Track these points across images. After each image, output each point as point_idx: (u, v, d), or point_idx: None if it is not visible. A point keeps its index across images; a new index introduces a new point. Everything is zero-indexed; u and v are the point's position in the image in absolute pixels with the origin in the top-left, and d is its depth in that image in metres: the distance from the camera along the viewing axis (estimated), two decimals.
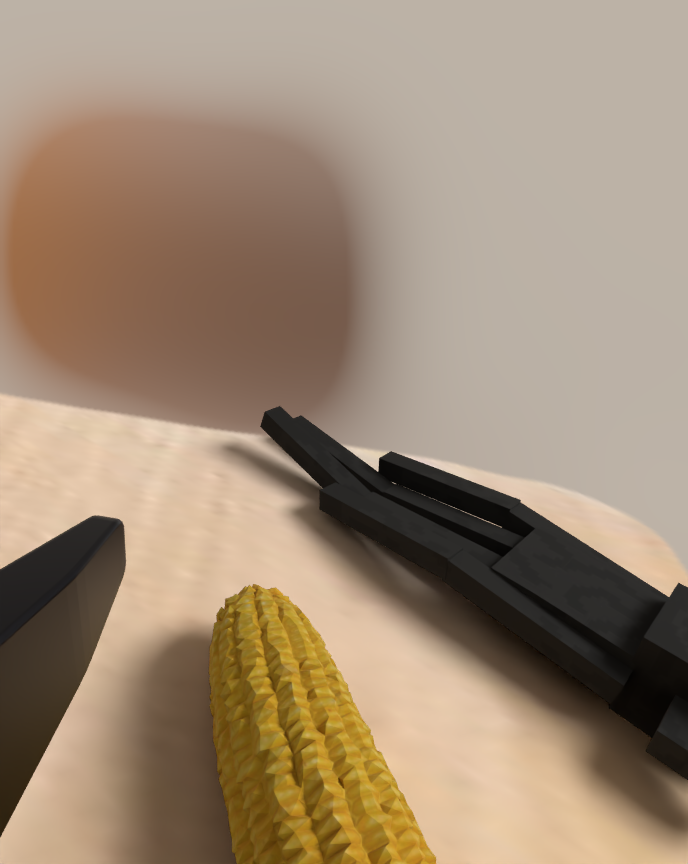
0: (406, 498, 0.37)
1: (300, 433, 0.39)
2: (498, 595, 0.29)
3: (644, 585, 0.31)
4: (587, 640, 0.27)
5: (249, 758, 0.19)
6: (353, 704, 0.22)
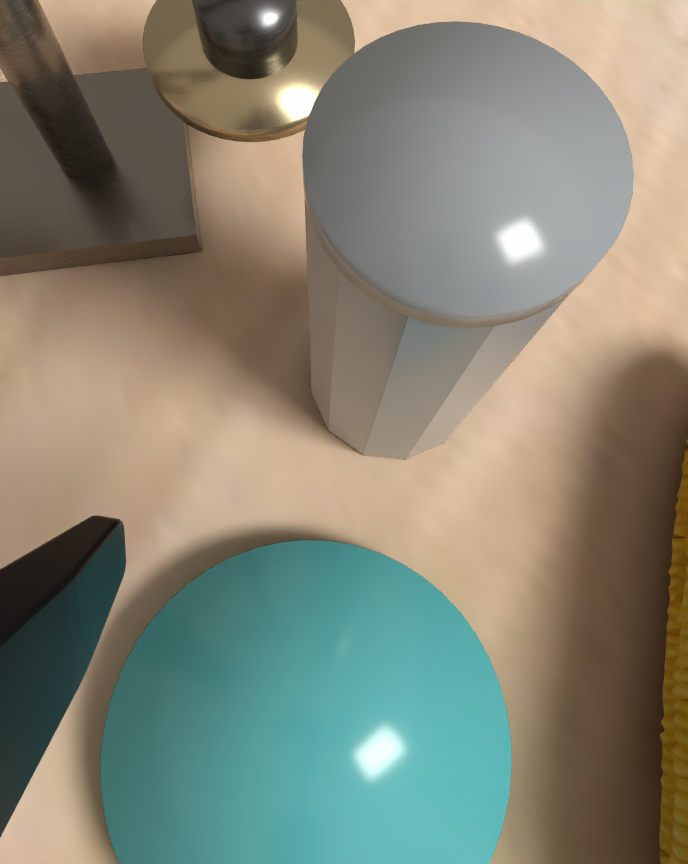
0: None
1: None
2: None
3: None
4: None
5: None
6: None
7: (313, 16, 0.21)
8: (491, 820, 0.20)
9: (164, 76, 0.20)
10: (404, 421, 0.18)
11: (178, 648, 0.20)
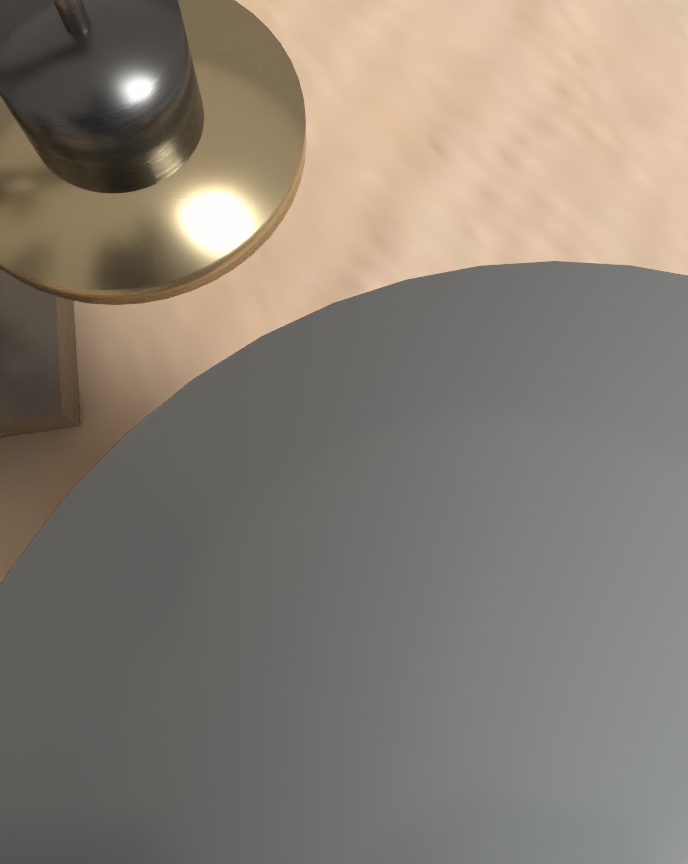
0: None
1: None
2: None
3: None
4: None
5: None
6: None
7: (233, 75, 0.12)
8: None
9: None
10: None
11: None
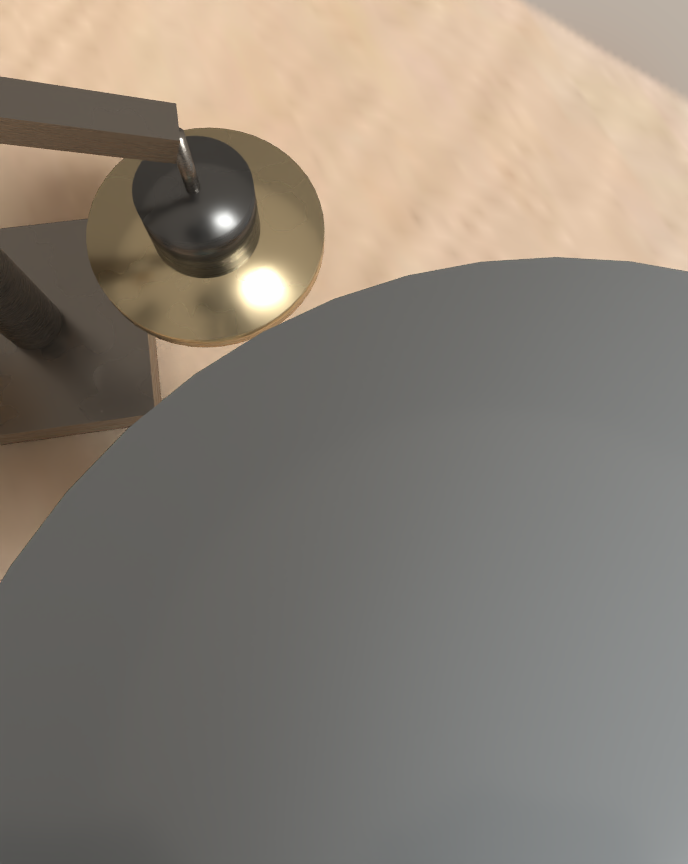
0: None
1: None
2: None
3: None
4: None
5: None
6: None
7: (278, 199, 0.19)
8: None
9: (110, 276, 0.18)
10: None
11: None
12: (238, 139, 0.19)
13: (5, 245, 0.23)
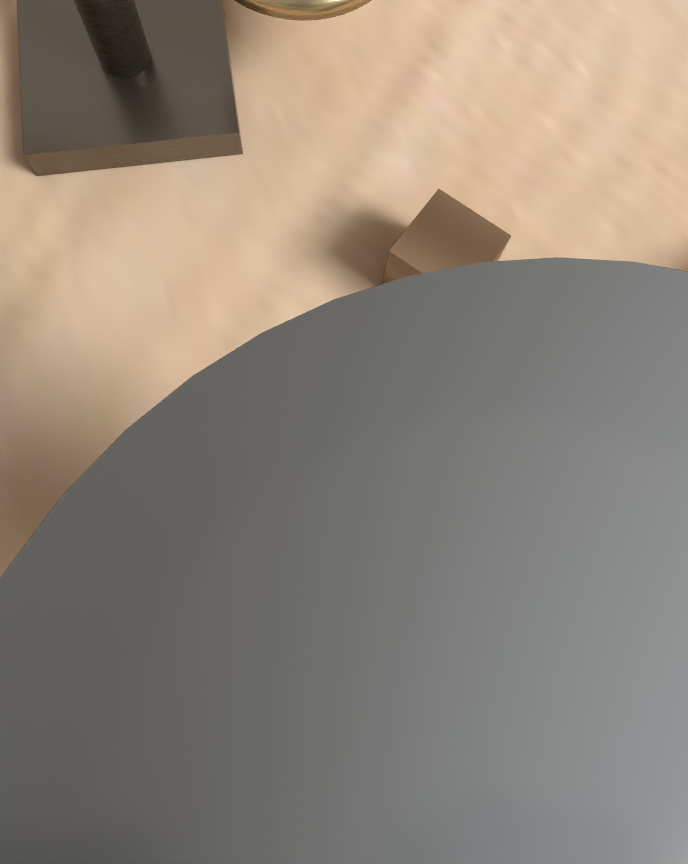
0: None
1: None
2: None
3: None
4: None
5: None
6: None
7: None
8: None
9: None
10: None
11: None
12: None
13: None
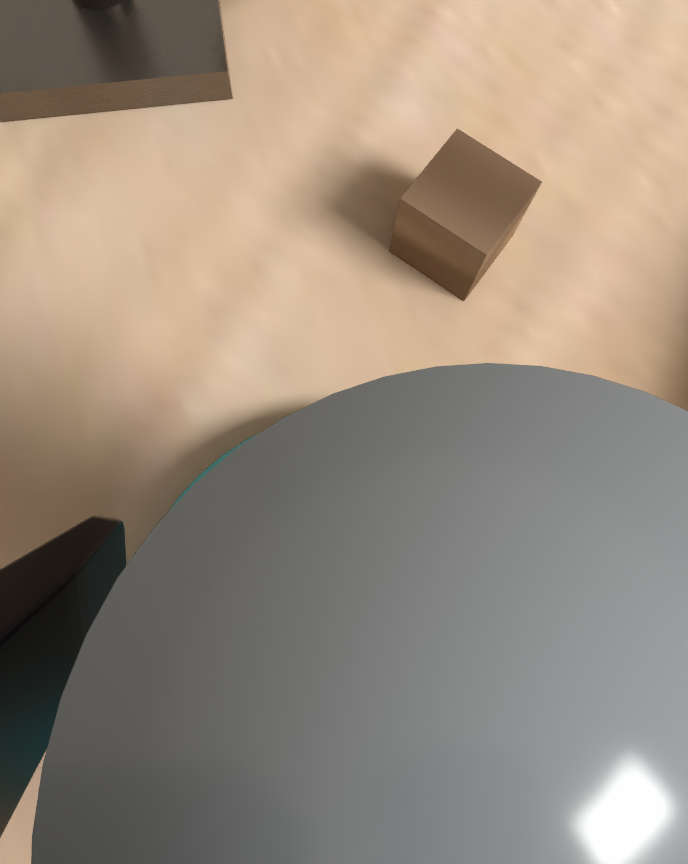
0: None
1: None
2: None
3: None
4: None
5: None
6: None
7: None
8: None
9: None
10: None
11: None
12: None
13: None
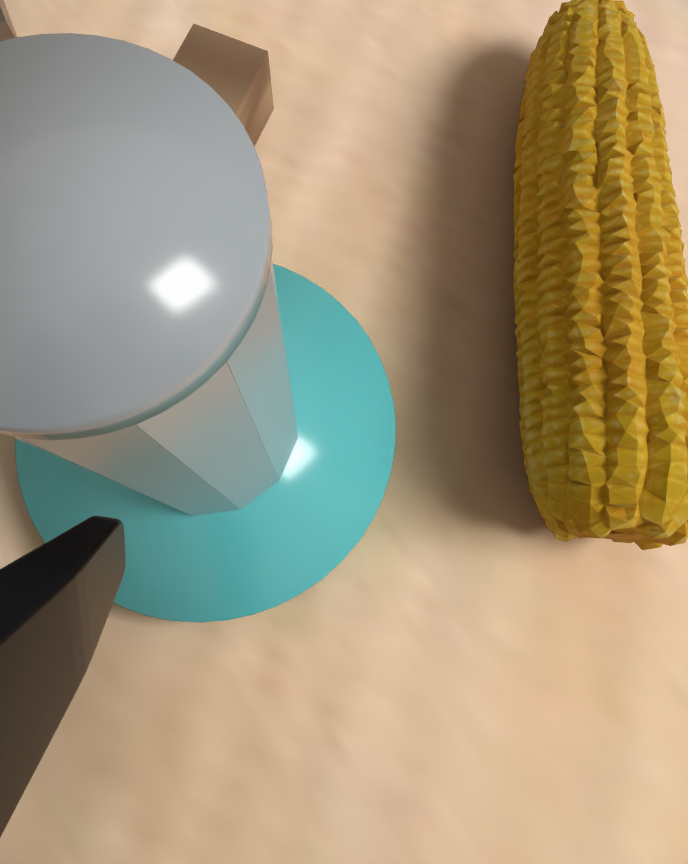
0: None
1: None
2: None
3: None
4: None
5: (555, 156, 0.21)
6: None
7: None
8: (383, 447, 0.22)
9: None
10: (186, 492, 0.16)
11: None
12: None
13: None
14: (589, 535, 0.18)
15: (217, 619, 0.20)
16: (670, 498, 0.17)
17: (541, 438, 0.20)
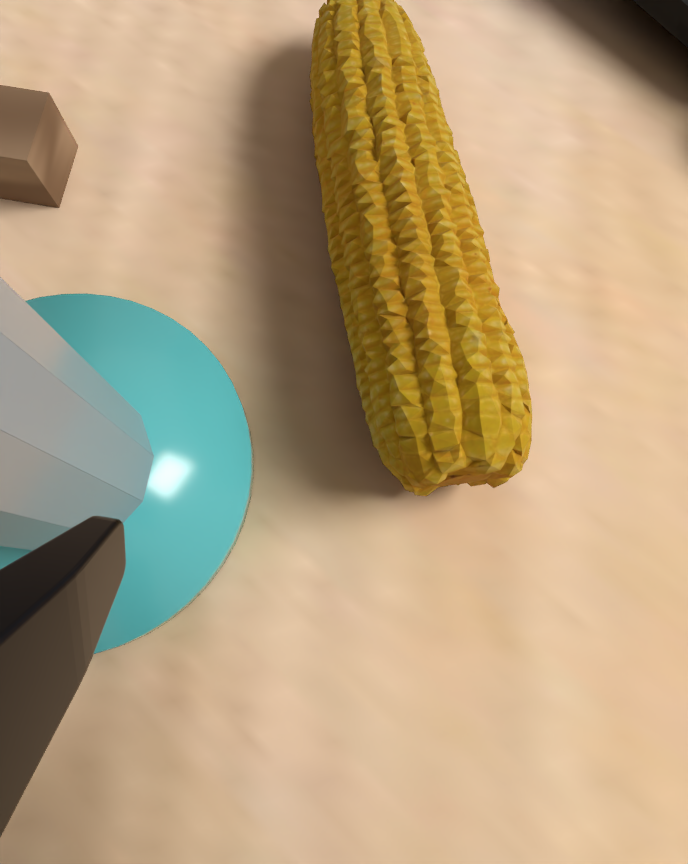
0: None
1: None
2: None
3: None
4: None
5: (338, 138, 0.22)
6: (440, 108, 0.23)
7: None
8: (239, 446, 0.22)
9: None
10: (16, 531, 0.16)
11: None
12: None
13: None
14: (428, 484, 0.19)
15: (106, 648, 0.20)
16: (486, 433, 0.18)
17: (372, 403, 0.20)
